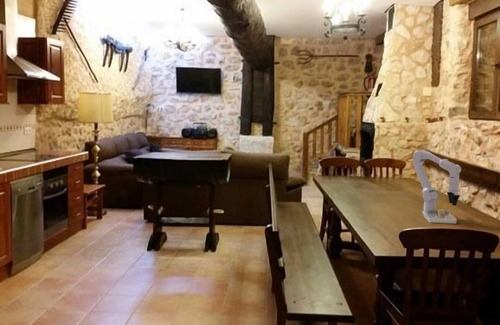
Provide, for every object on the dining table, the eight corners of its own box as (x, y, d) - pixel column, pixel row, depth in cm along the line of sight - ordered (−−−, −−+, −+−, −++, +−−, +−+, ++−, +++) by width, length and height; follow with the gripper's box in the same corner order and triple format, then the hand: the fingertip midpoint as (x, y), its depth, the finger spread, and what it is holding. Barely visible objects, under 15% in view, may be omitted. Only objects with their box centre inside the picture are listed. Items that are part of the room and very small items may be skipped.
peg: (437, 219, 312) (438, 209, 311) (443, 220, 311) (443, 209, 311) (439, 221, 309) (439, 210, 308) (444, 221, 308) (444, 210, 308)
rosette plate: (423, 216, 322) (424, 209, 322) (449, 217, 320) (449, 210, 319) (429, 222, 304) (429, 215, 304) (456, 223, 302) (456, 216, 302)
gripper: (463, 185, 306) (462, 206, 308) (457, 181, 320) (456, 202, 322) (451, 185, 307) (450, 206, 309) (446, 181, 322) (445, 201, 323)
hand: (452, 204), depth 316 cm, fingers open, 7 cm apart
